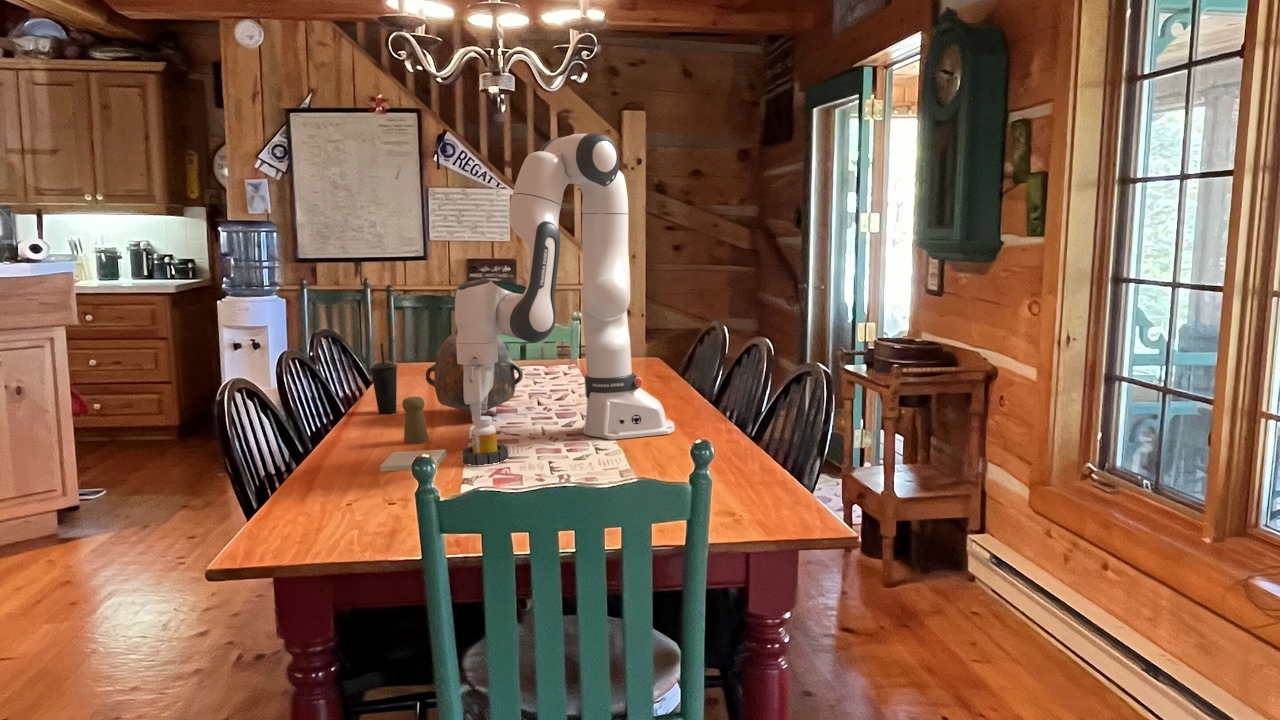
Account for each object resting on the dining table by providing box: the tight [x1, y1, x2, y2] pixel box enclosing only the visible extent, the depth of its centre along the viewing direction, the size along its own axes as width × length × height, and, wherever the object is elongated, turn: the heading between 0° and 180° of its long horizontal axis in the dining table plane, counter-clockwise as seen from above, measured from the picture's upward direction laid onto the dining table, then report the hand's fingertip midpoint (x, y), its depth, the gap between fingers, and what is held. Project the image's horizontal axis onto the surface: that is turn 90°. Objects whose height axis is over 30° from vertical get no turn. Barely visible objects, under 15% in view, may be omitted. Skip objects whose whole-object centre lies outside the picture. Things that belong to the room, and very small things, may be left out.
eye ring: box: [461, 443, 509, 465], centre depth 203 cm, size 10×10×2 cm
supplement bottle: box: [470, 415, 498, 453], centre depth 202 cm, size 5×5×10 cm
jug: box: [425, 328, 524, 416], centre depth 248 cm, size 24×21×30 cm
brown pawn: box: [402, 396, 430, 445], centre depth 223 cm, size 6×6×11 cm
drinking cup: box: [369, 342, 398, 415], centre depth 259 cm, size 8×8×20 cm
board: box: [379, 449, 447, 472], centre depth 203 cm, size 12×12×1 cm
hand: (480, 416), depth 201 cm, fingers open, 8 cm apart
